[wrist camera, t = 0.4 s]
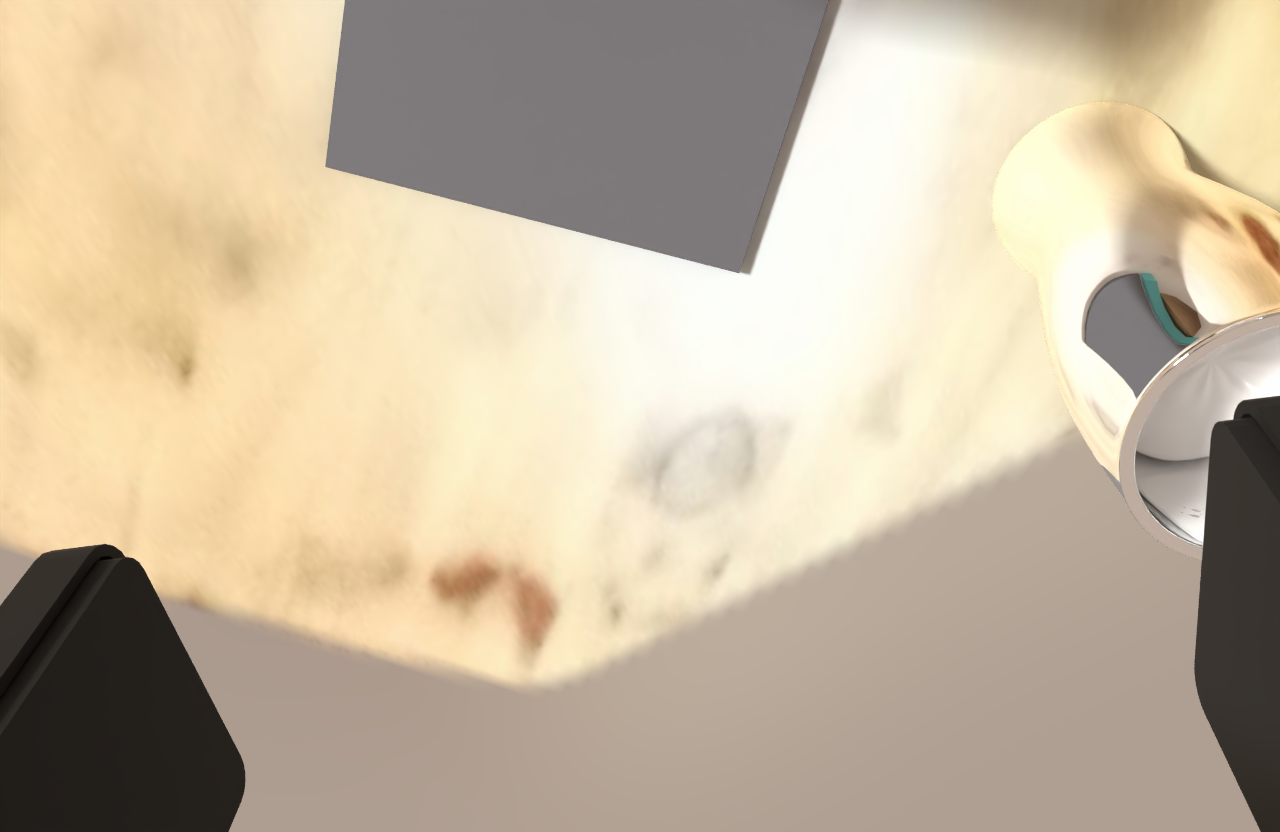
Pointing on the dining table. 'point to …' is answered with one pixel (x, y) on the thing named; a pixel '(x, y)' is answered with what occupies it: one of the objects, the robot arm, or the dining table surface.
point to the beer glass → (1144, 299)
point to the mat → (579, 110)
